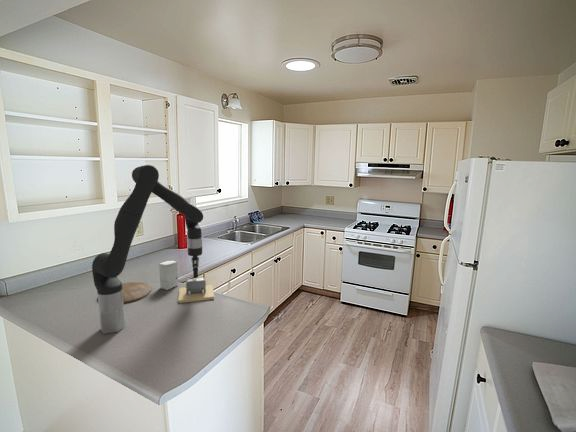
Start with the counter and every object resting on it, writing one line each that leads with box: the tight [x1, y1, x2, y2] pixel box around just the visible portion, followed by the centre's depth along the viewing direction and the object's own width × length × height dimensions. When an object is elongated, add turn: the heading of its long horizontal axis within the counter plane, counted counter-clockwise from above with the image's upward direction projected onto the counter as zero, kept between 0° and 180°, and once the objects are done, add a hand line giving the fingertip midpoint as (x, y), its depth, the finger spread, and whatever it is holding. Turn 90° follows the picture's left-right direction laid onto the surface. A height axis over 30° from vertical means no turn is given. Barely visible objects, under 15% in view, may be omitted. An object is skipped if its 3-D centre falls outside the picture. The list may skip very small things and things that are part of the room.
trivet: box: [122, 281, 152, 305], centre depth 165 cm, size 25×25×2 cm
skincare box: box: [158, 260, 179, 291], centre depth 174 cm, size 8×6×15 cm
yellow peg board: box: [177, 284, 215, 304], centre depth 165 cm, size 16×18×4 cm
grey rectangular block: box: [185, 277, 207, 295], centre depth 164 cm, size 4×10×7 cm, turn 108°
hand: (195, 274), depth 163 cm, fingers open, 8 cm apart
